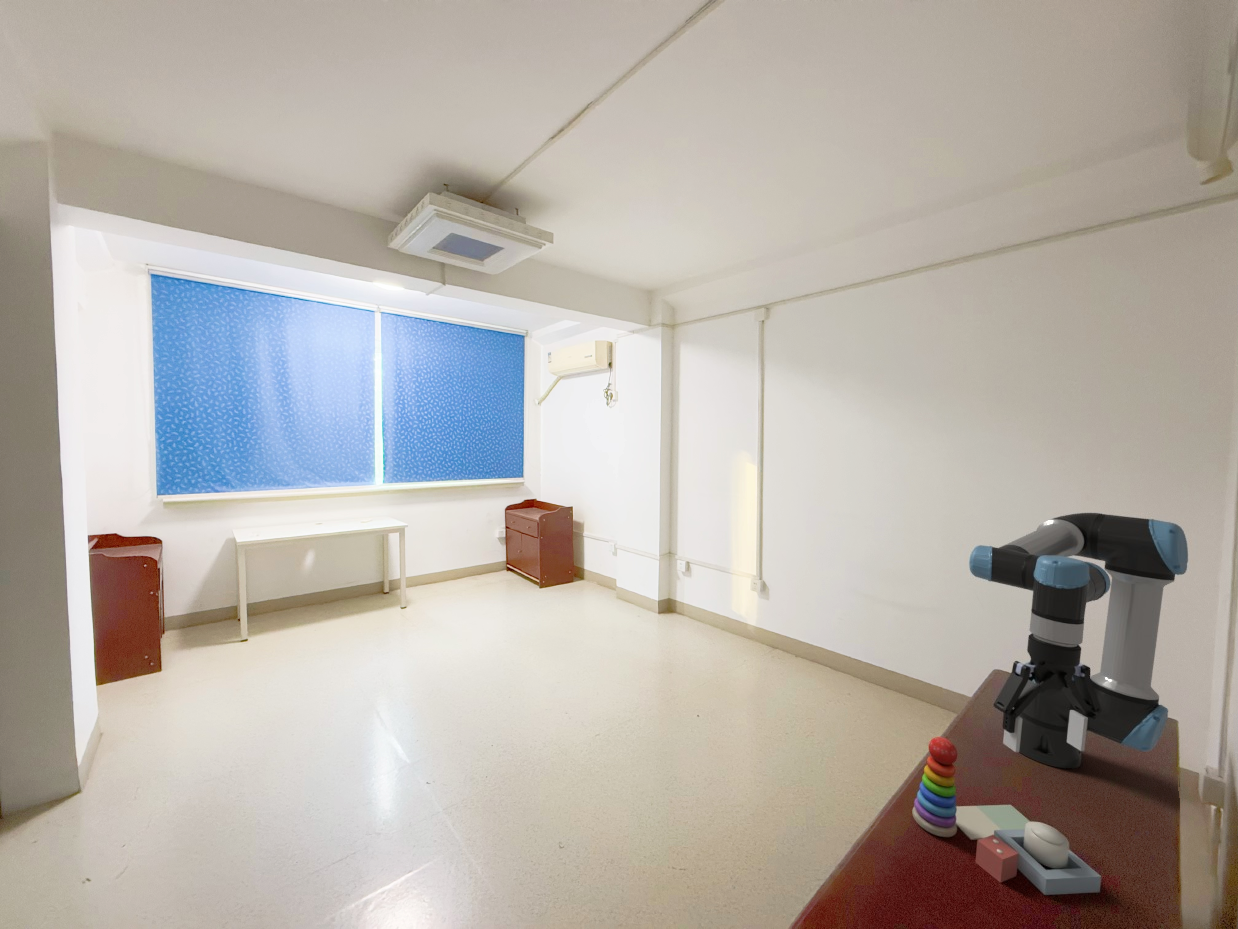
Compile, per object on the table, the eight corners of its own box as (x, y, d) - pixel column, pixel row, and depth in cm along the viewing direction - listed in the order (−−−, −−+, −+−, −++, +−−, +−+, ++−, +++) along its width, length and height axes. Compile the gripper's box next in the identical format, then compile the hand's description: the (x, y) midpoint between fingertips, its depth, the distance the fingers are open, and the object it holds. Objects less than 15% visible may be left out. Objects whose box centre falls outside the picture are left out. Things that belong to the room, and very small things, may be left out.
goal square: (1010, 806, 111) (1010, 804, 111) (1046, 837, 102) (1046, 835, 102) (975, 807, 110) (975, 805, 110) (1009, 838, 102) (1009, 837, 102)
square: (975, 807, 110) (975, 805, 110) (1009, 838, 102) (1009, 837, 102) (939, 808, 109) (940, 807, 109) (970, 840, 101) (970, 838, 101)
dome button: (1044, 840, 98) (1046, 818, 98) (1076, 868, 92) (1079, 845, 92) (1014, 841, 98) (1016, 819, 97) (1045, 870, 91) (1047, 846, 91)
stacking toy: (940, 844, 99) (948, 754, 98) (903, 815, 107) (910, 731, 105) (965, 833, 102) (973, 746, 101) (928, 806, 110) (935, 724, 109)
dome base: (1042, 842, 101) (1043, 828, 101) (1099, 892, 90) (1101, 876, 90) (992, 844, 100) (994, 830, 100) (1044, 895, 89) (1046, 879, 89)
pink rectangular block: (991, 856, 97) (993, 834, 97) (1016, 876, 93) (1018, 852, 92) (975, 862, 95) (977, 839, 95) (1000, 882, 91) (1002, 859, 91)
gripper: (1092, 631, 99) (1081, 734, 100) (977, 630, 96) (967, 736, 97) (1135, 647, 91) (1123, 758, 92) (1011, 647, 89) (1000, 761, 90)
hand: (1043, 747), depth 95 cm, fingers open, 13 cm apart
